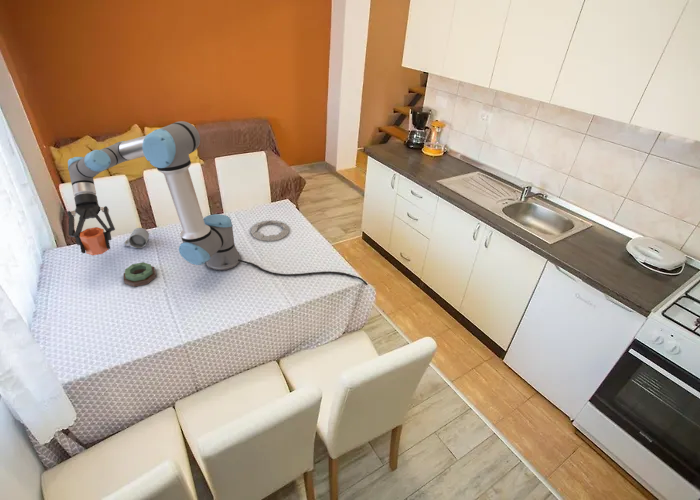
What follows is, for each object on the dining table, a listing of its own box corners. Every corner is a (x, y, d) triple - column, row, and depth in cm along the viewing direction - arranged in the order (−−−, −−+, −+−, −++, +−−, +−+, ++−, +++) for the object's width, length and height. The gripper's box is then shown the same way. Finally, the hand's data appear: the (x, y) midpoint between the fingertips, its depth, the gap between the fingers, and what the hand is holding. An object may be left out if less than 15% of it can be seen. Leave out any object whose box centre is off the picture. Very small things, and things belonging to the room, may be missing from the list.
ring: (292, 224, 207) (292, 221, 206) (283, 243, 191) (283, 239, 190) (258, 219, 208) (258, 216, 207) (246, 238, 192) (245, 235, 191)
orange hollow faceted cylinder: (113, 246, 155) (107, 230, 150) (97, 257, 148) (90, 240, 144) (98, 242, 156) (92, 225, 152) (81, 252, 150) (74, 235, 146)
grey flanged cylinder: (151, 238, 187) (147, 225, 182) (148, 247, 180) (144, 234, 176) (127, 240, 184) (122, 227, 180) (123, 250, 178) (118, 236, 173)
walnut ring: (162, 272, 166) (161, 269, 165) (141, 289, 157) (140, 285, 155) (139, 265, 169) (138, 262, 168) (118, 281, 159) (116, 278, 158)
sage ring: (157, 269, 164) (156, 266, 163) (140, 283, 156) (138, 279, 155) (138, 264, 167) (137, 260, 165) (120, 277, 159) (119, 273, 158)
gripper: (116, 195, 159) (127, 247, 156) (57, 202, 151) (67, 257, 148) (113, 189, 152) (124, 243, 150) (50, 196, 144) (61, 253, 141)
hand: (96, 250), depth 149 cm, fingers closed on orange hollow faceted cylinder, 8 cm apart
